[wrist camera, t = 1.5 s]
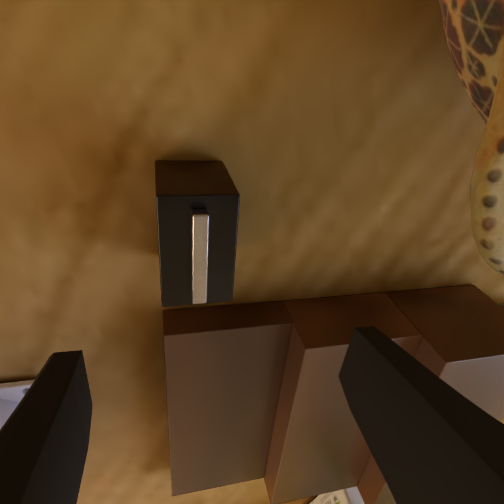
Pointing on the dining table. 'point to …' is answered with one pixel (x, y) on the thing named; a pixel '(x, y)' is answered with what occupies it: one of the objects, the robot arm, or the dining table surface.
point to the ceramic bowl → (482, 111)
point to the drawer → (196, 231)
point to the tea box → (340, 497)
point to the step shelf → (309, 384)
